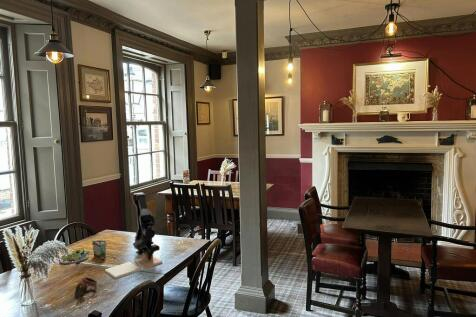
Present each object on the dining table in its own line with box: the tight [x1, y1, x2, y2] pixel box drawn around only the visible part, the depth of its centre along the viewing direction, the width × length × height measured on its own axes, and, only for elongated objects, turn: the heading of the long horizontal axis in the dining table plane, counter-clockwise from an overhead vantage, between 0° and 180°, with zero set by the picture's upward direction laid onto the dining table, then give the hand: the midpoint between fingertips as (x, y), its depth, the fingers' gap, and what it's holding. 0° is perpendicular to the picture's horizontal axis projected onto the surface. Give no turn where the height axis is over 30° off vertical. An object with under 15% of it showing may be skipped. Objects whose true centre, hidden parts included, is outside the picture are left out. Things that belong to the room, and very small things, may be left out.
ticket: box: [104, 261, 143, 280], centre depth 197 cm, size 14×16×1 cm
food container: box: [91, 239, 108, 261], centre depth 219 cm, size 12×6×10 cm, turn 47°
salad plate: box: [59, 247, 91, 265], centre depth 217 cm, size 19×18×5 cm
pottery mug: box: [74, 276, 98, 297], centre depth 171 cm, size 12×10×8 cm
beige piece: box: [133, 252, 163, 269], centre depth 208 cm, size 14×11×6 cm
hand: (148, 259), depth 208 cm, fingers closed on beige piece, 3 cm apart
